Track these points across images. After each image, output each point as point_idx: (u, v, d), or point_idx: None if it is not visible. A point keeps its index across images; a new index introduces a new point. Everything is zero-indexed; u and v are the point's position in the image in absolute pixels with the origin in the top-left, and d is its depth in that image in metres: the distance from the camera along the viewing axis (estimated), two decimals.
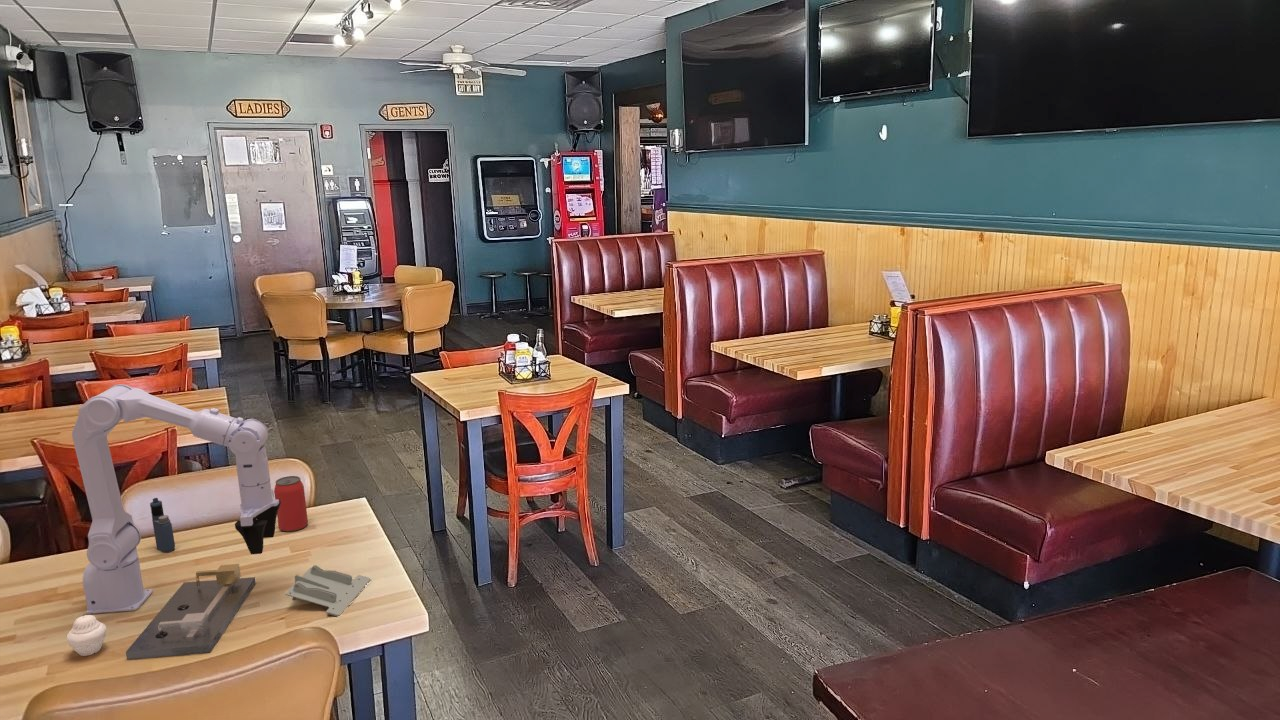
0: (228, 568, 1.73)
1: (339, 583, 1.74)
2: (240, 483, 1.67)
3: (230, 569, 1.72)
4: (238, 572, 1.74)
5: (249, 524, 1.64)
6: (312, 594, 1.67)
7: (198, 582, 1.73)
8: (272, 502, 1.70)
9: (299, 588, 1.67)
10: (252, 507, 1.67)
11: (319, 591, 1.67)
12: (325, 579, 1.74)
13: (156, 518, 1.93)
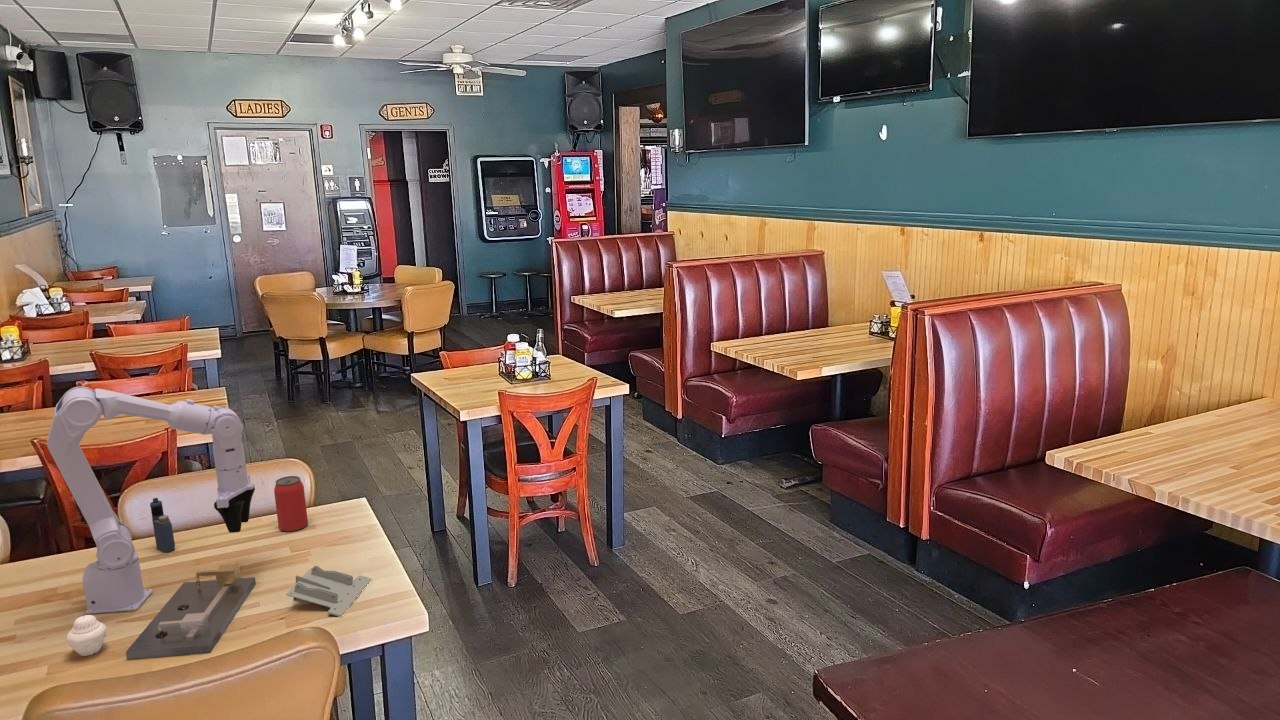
0: (228, 568, 1.73)
1: (340, 583, 1.74)
2: (221, 468, 1.75)
3: (230, 569, 1.72)
4: (238, 572, 1.74)
5: (225, 506, 1.72)
6: (313, 594, 1.67)
7: (198, 582, 1.73)
8: (248, 485, 1.78)
9: (300, 589, 1.67)
10: (228, 490, 1.76)
11: (320, 591, 1.67)
12: (326, 579, 1.74)
13: (156, 518, 1.93)
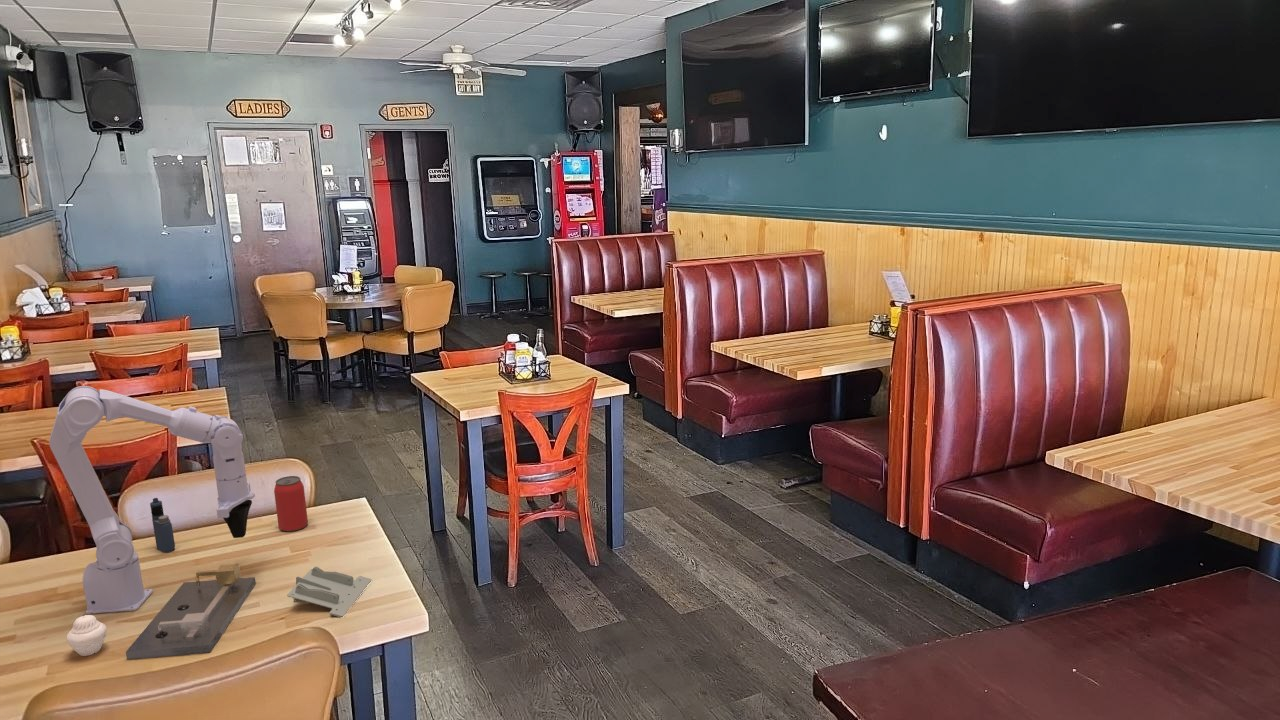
0: (228, 568, 1.73)
1: (340, 584, 1.73)
2: (221, 478, 1.75)
3: (230, 569, 1.72)
4: (238, 572, 1.74)
5: (225, 516, 1.72)
6: (314, 595, 1.67)
7: (198, 582, 1.73)
8: (248, 495, 1.78)
9: (301, 590, 1.66)
10: (228, 500, 1.75)
11: (322, 592, 1.66)
12: (326, 580, 1.73)
13: (156, 518, 1.93)
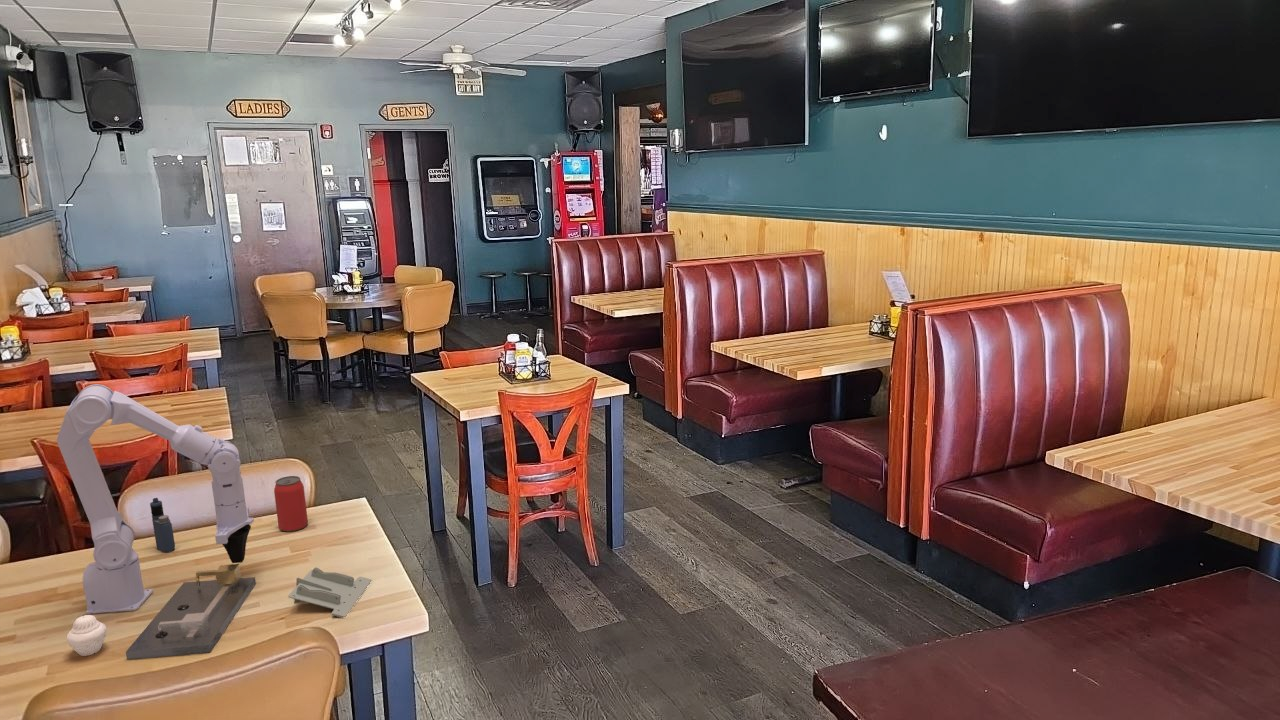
0: (228, 568, 1.73)
1: (341, 585, 1.73)
2: (218, 503, 1.73)
3: (230, 569, 1.72)
4: (238, 572, 1.74)
5: (224, 542, 1.70)
6: (316, 596, 1.66)
7: (198, 582, 1.73)
8: (247, 520, 1.77)
9: (302, 590, 1.66)
10: (227, 525, 1.74)
11: (323, 593, 1.66)
12: (327, 581, 1.73)
13: (156, 518, 1.93)
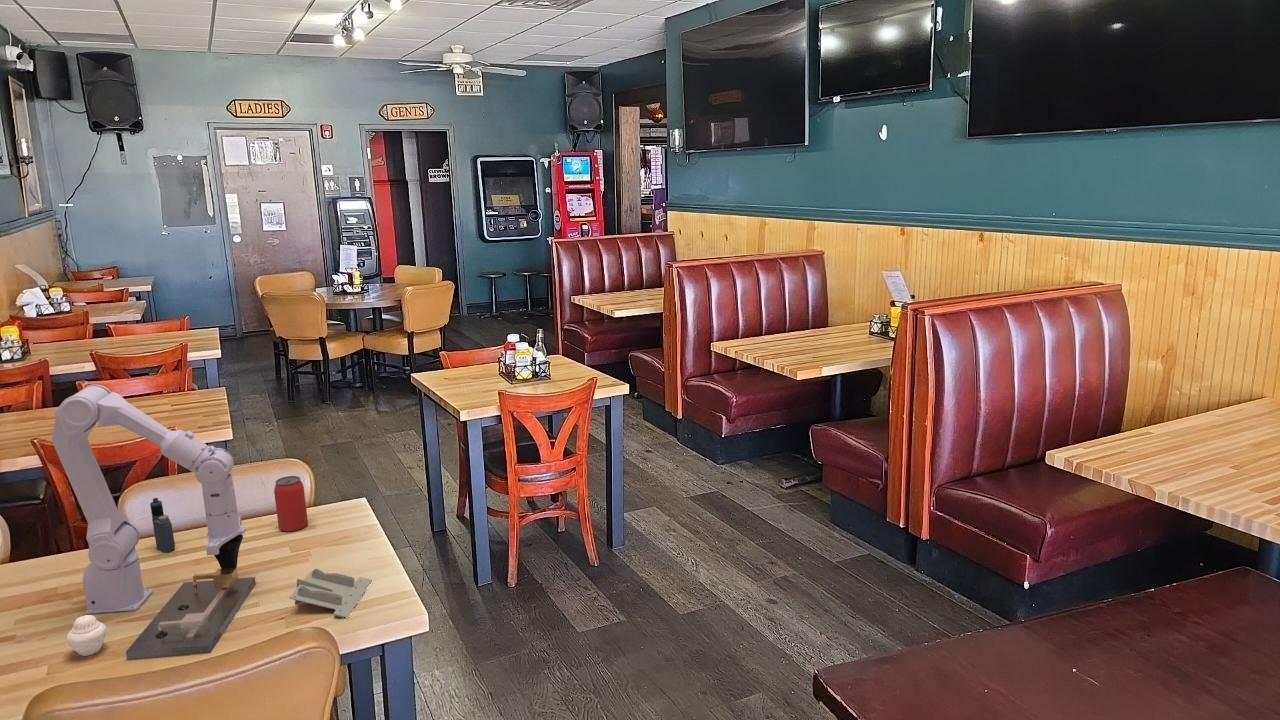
0: (225, 571, 1.71)
1: (341, 585, 1.73)
2: (207, 512, 1.69)
3: (227, 572, 1.71)
4: (235, 575, 1.73)
5: (215, 553, 1.66)
6: (317, 597, 1.66)
7: (195, 586, 1.71)
8: (239, 530, 1.72)
9: (303, 592, 1.66)
10: (219, 536, 1.69)
11: (324, 594, 1.66)
12: (327, 582, 1.73)
13: (156, 518, 1.93)
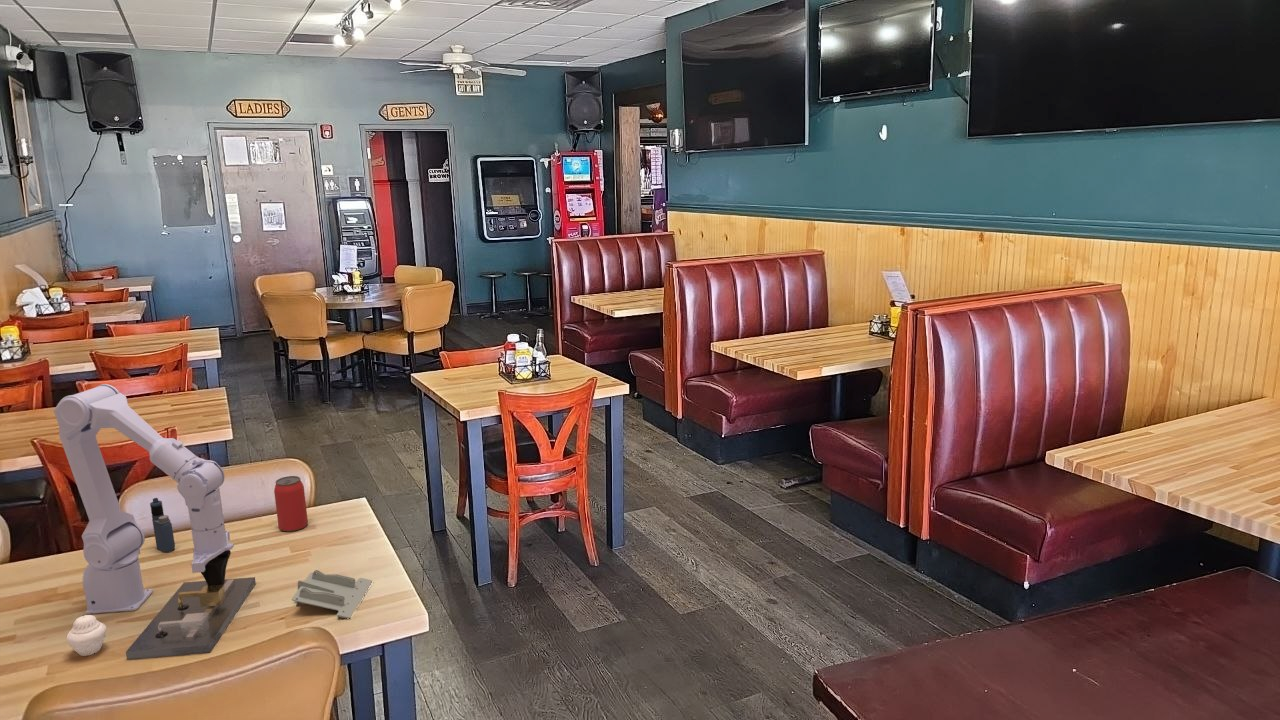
0: (212, 589, 1.64)
1: (342, 586, 1.72)
2: (191, 526, 1.62)
3: (214, 590, 1.64)
4: (223, 593, 1.65)
5: (201, 570, 1.58)
6: (319, 598, 1.65)
7: (180, 604, 1.64)
8: (226, 546, 1.65)
9: (305, 593, 1.65)
10: (205, 552, 1.62)
11: (327, 595, 1.65)
12: (328, 583, 1.72)
13: (156, 518, 1.93)
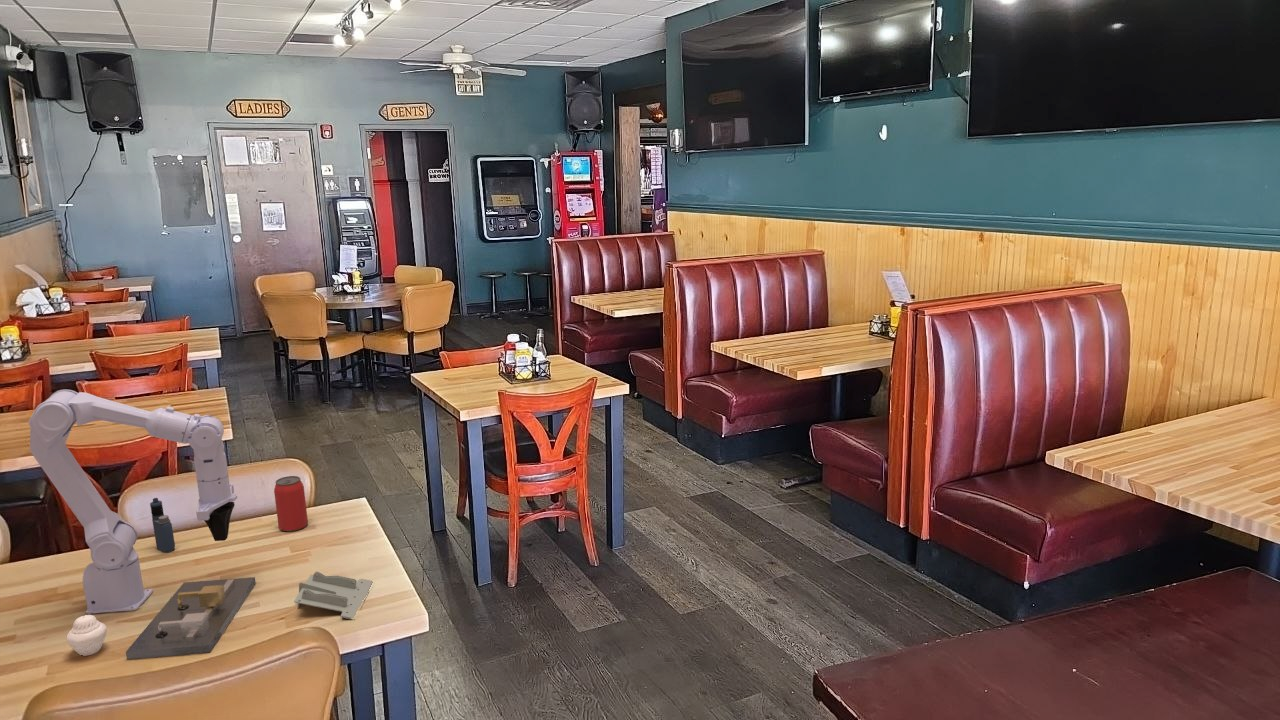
0: (212, 589, 1.64)
1: (344, 588, 1.72)
2: (199, 479, 1.69)
3: (214, 591, 1.63)
4: (222, 594, 1.65)
5: (205, 518, 1.66)
6: (322, 600, 1.65)
7: (180, 604, 1.64)
8: (230, 497, 1.72)
9: (308, 595, 1.64)
10: (209, 502, 1.70)
11: (330, 596, 1.65)
12: (329, 584, 1.72)
13: (156, 518, 1.93)
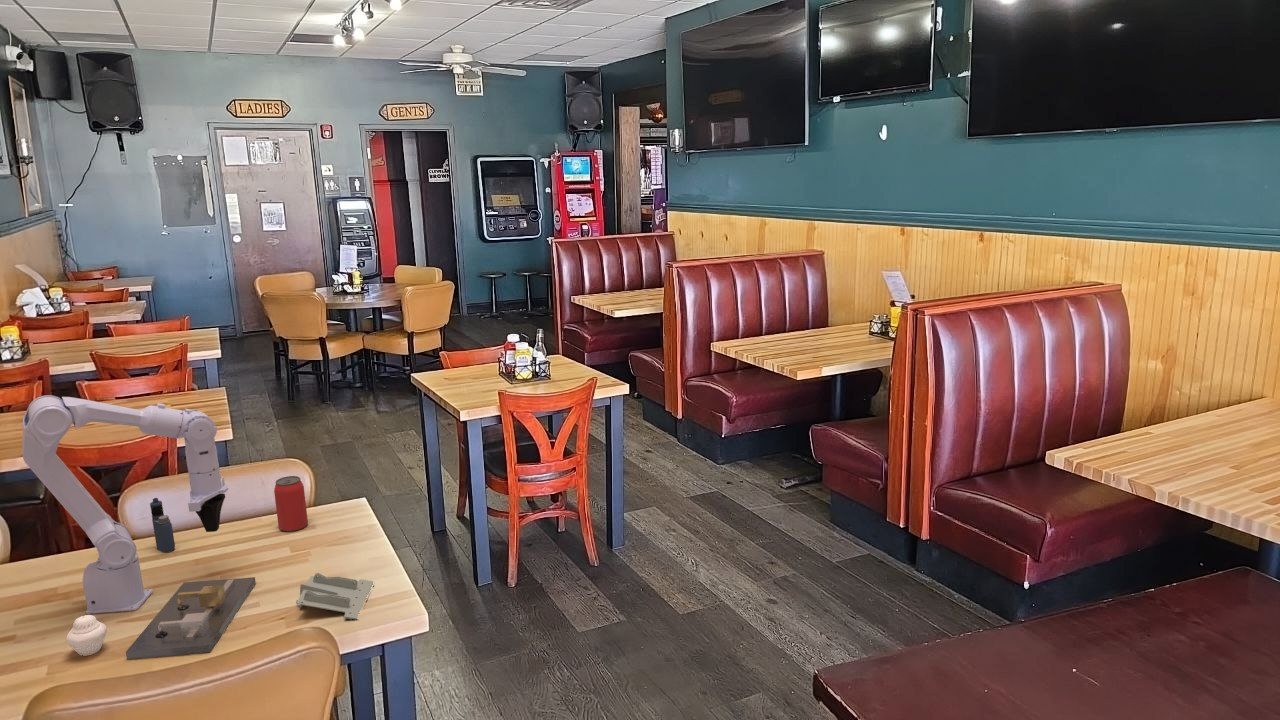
0: (212, 589, 1.64)
1: (345, 588, 1.71)
2: (194, 471, 1.73)
3: (214, 591, 1.63)
4: (222, 594, 1.65)
5: (197, 509, 1.70)
6: (324, 601, 1.64)
7: (180, 604, 1.64)
8: (221, 489, 1.77)
9: (310, 596, 1.64)
10: (201, 493, 1.74)
11: (332, 597, 1.64)
12: (329, 585, 1.71)
13: (156, 518, 1.93)
